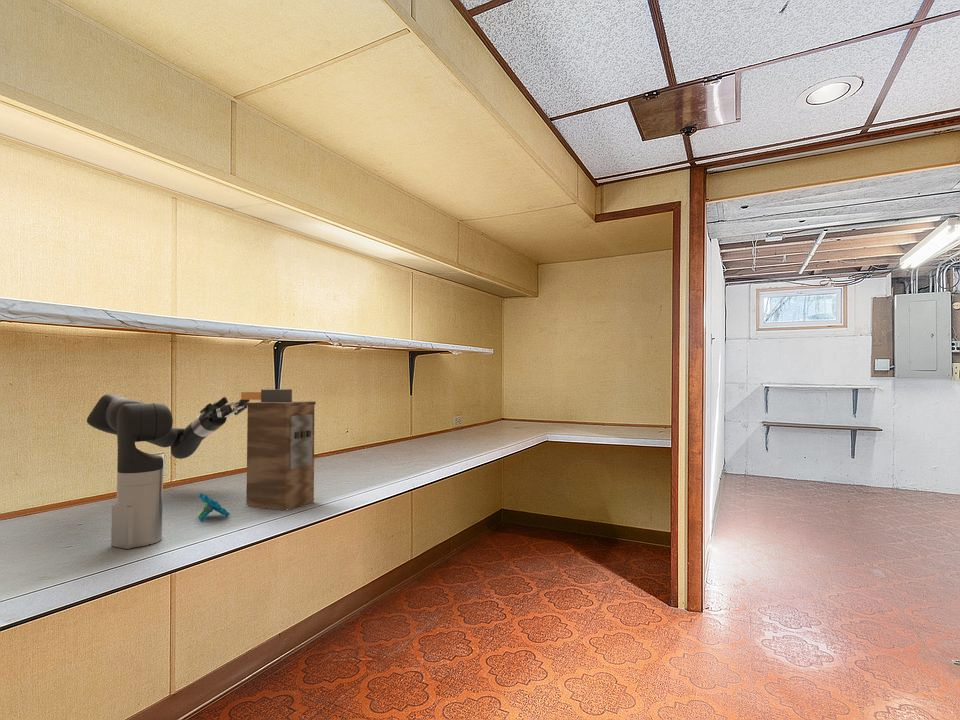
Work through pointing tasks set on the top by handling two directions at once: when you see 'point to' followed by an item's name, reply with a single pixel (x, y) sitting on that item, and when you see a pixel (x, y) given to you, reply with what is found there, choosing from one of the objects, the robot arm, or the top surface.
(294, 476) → the stand
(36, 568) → the top surface
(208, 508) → the teal plastic lumpy figure
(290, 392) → the block
